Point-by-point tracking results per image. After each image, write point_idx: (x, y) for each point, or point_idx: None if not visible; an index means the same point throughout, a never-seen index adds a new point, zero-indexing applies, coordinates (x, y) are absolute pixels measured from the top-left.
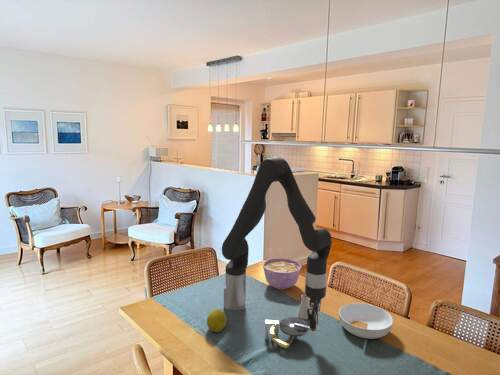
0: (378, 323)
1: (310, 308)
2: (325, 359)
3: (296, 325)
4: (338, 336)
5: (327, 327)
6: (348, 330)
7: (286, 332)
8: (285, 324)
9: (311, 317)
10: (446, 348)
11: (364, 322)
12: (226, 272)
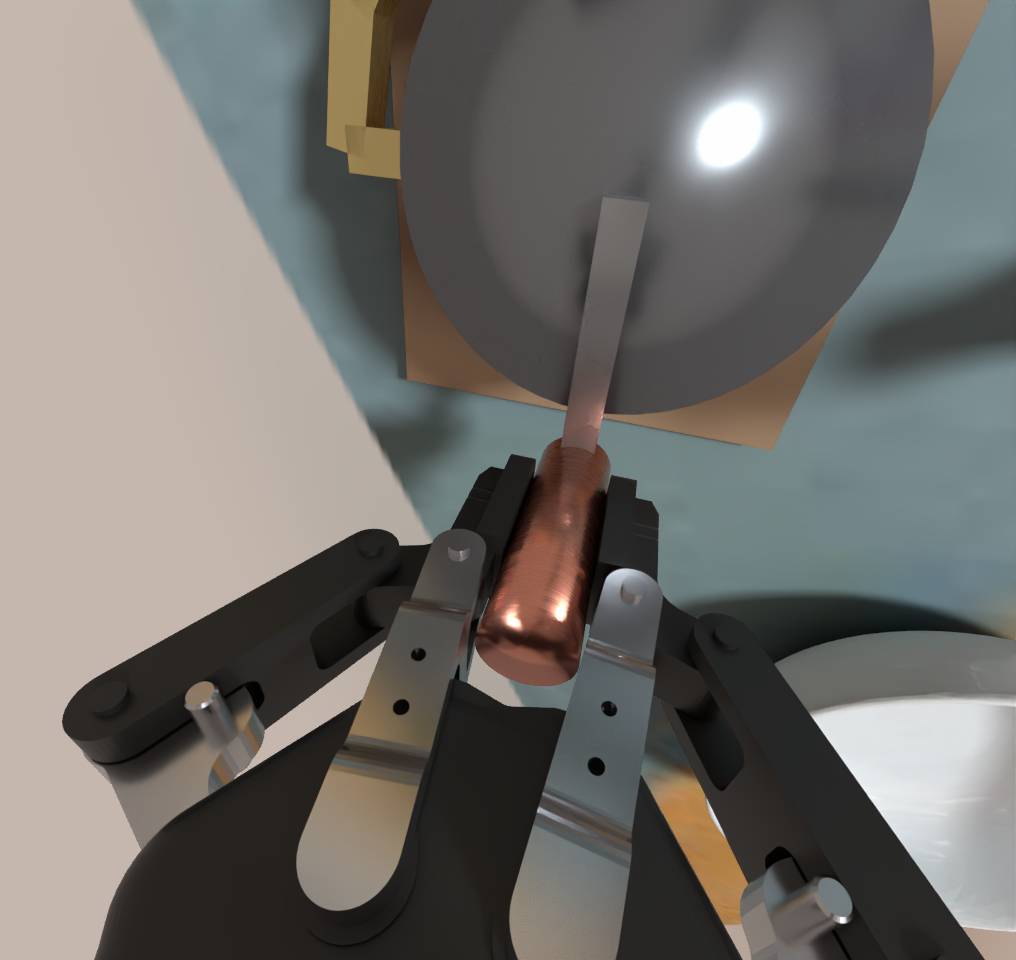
0: (947, 798)
1: (117, 782)
2: (484, 460)
3: (597, 246)
4: (798, 558)
5: (968, 495)
6: (798, 658)
7: (412, 100)
8: (604, 2)
9: (358, 600)
10: (730, 870)
11: (991, 741)
12: None
